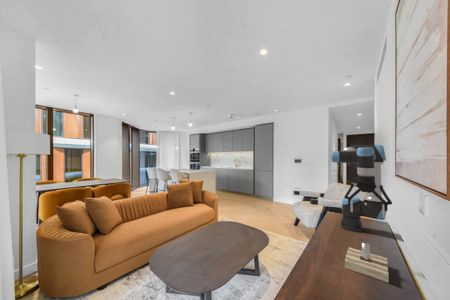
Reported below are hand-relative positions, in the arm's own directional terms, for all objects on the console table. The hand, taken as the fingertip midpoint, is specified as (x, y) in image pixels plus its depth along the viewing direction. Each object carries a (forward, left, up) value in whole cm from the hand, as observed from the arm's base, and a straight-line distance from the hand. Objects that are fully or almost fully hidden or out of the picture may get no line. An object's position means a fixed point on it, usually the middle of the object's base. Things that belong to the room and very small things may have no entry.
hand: (366, 214), depth 96 cm
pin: (+10, 0, -24) cm, 25 cm away
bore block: (+10, 0, -24) cm, 26 cm away
